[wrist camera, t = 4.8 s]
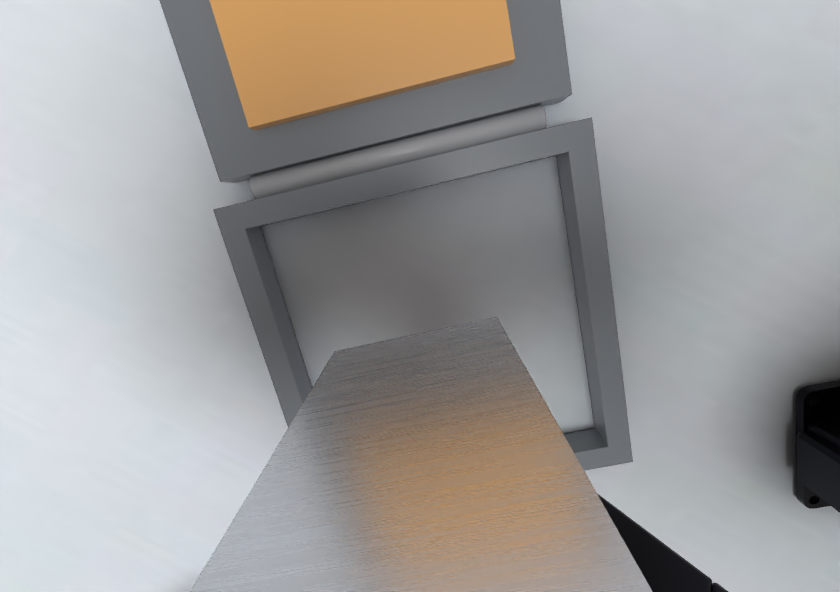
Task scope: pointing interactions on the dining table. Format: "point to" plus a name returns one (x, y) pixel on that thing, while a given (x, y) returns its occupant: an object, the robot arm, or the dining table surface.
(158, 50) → the dining table surface
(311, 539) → the block
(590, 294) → the gray square frame
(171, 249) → the dining table surface
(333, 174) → the lid
